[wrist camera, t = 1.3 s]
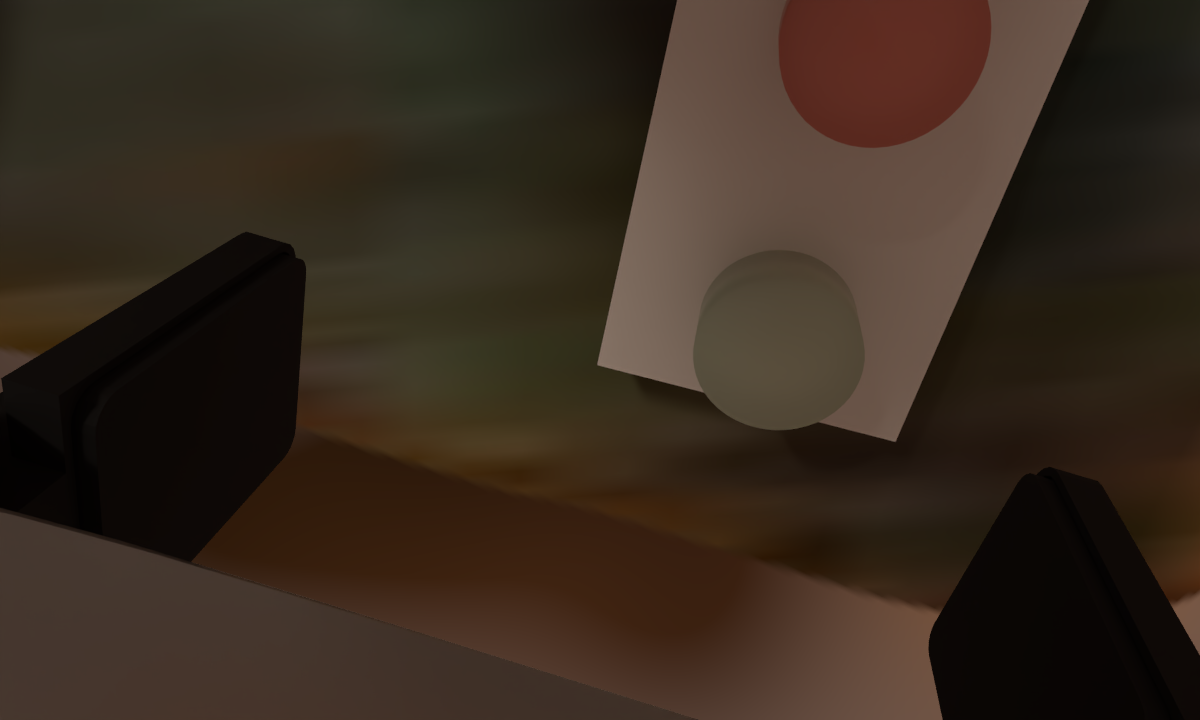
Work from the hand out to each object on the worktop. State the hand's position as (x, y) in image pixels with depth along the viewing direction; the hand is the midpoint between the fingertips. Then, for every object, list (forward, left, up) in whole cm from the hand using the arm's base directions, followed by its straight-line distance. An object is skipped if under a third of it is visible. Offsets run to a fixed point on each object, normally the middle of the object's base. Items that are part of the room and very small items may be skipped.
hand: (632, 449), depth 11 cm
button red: (-4, +4, -17) cm, 17 cm away
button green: (+5, +4, -17) cm, 18 cm away
